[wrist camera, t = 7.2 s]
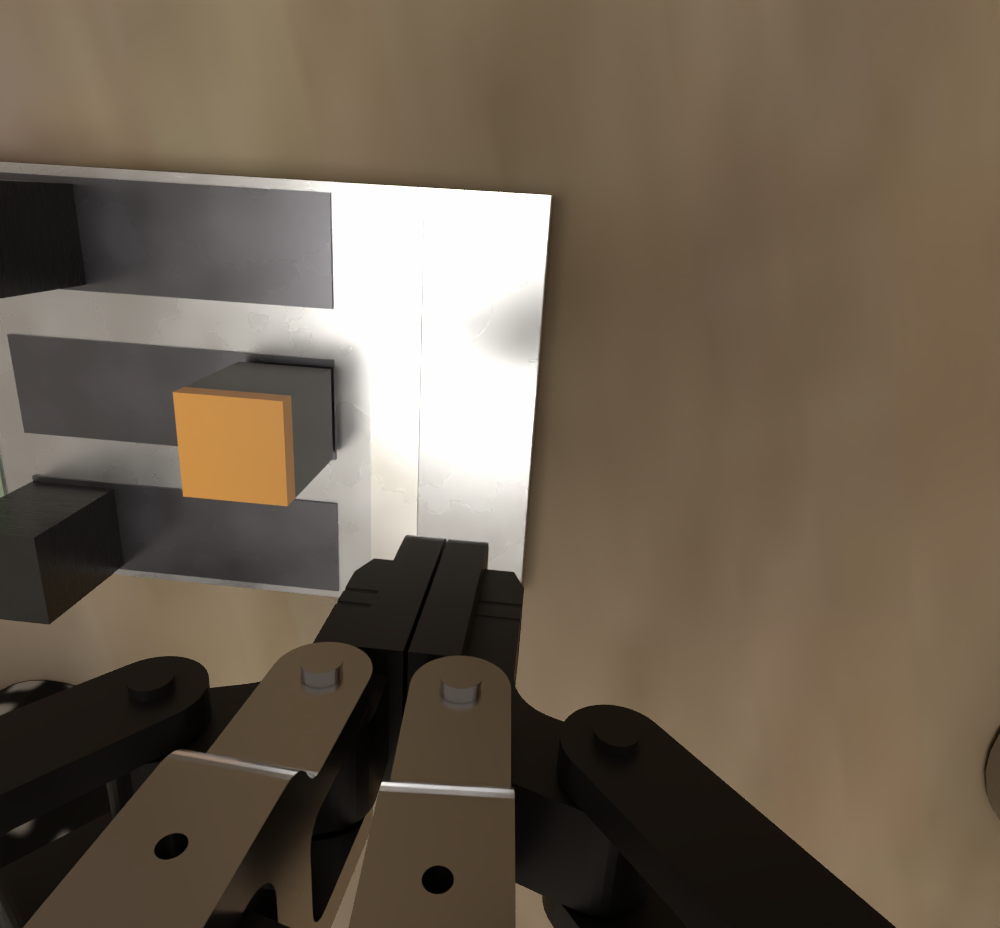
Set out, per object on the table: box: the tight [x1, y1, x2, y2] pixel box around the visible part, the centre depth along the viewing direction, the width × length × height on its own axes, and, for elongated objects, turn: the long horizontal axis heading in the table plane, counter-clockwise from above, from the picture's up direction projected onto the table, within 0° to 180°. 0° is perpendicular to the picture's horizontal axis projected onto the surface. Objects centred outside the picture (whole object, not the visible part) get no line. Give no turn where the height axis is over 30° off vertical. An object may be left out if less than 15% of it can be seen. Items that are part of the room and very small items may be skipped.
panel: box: [0, 162, 553, 624], centre depth 23 cm, size 24×14×6 cm, turn 87°
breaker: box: [173, 362, 333, 506], centre depth 21 cm, size 3×3×4 cm
